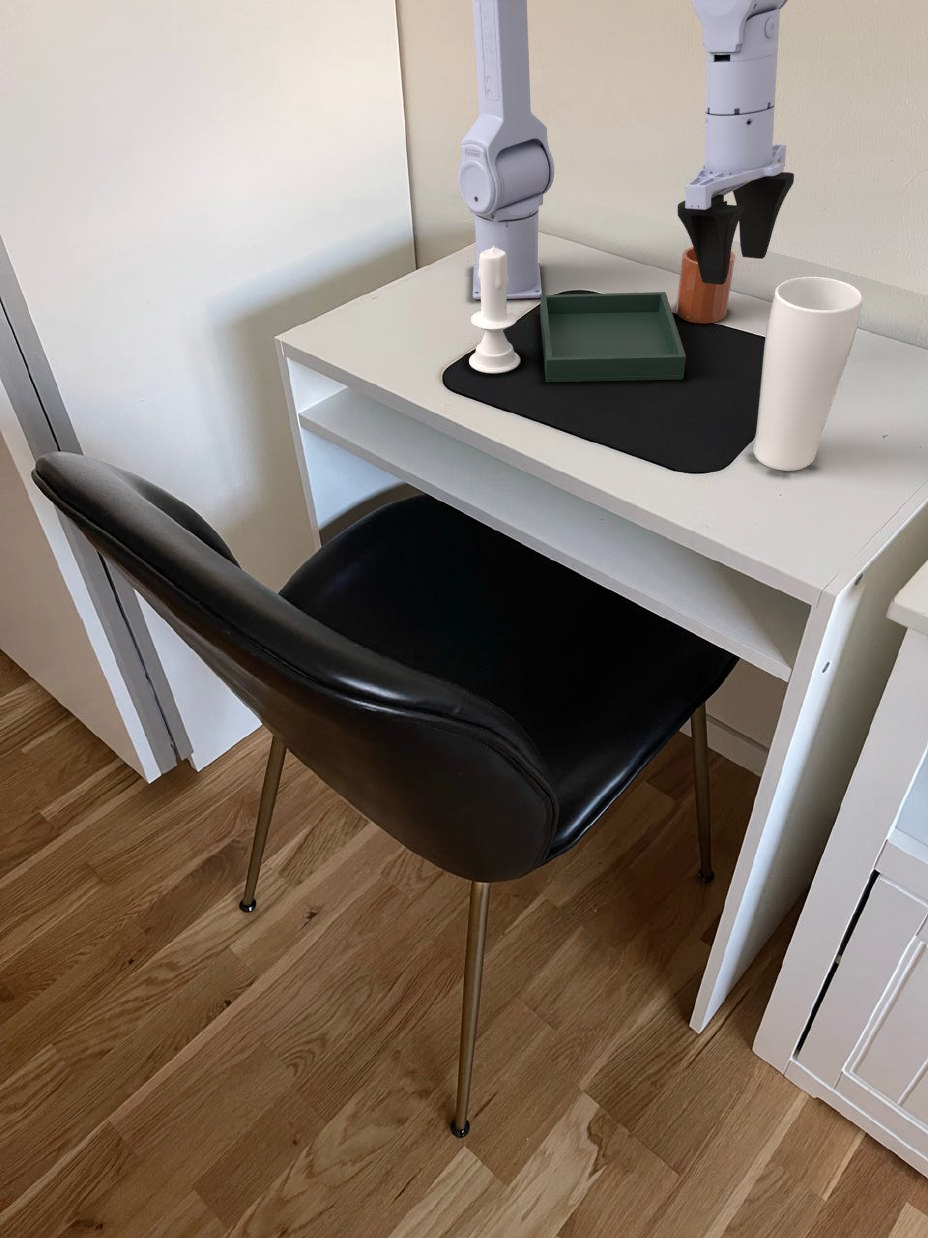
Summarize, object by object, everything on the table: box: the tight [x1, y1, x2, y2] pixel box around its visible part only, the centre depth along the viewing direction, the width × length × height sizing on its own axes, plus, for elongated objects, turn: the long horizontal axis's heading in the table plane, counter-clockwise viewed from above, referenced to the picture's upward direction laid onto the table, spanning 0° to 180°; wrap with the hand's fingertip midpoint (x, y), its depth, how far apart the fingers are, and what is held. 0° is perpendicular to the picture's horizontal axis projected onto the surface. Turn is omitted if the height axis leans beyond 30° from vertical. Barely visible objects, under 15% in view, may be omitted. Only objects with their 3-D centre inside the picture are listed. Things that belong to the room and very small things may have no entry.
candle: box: [468, 245, 521, 374], centre depth 96 cm, size 5×5×12 cm
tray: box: [539, 291, 687, 383], centre depth 101 cm, size 15×14×2 cm
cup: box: [675, 246, 736, 324], centre depth 105 cm, size 5×5×6 cm
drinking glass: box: [752, 276, 864, 472], centre depth 80 cm, size 7×7×15 cm
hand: (734, 269), depth 90 cm, fingers open, 7 cm apart
